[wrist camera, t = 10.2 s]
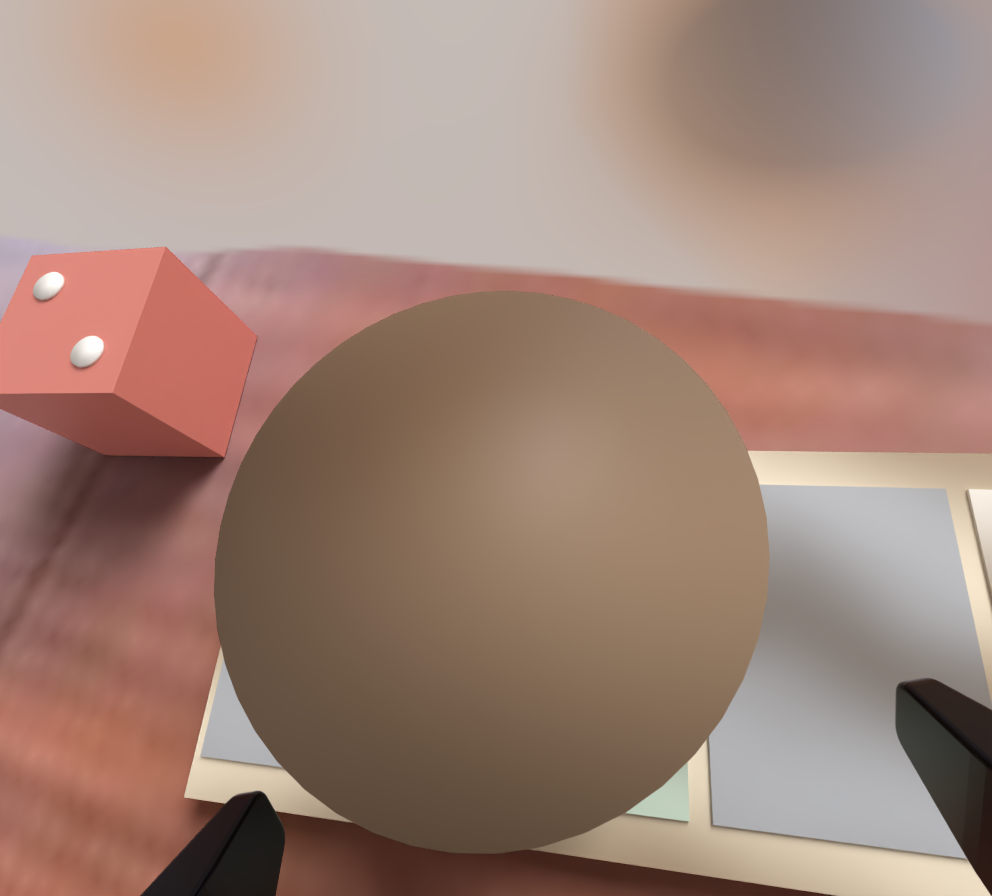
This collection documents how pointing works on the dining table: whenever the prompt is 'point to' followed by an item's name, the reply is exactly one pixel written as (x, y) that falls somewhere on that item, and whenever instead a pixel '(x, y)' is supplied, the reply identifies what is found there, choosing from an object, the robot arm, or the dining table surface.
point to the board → (790, 692)
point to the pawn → (491, 572)
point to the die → (124, 354)
